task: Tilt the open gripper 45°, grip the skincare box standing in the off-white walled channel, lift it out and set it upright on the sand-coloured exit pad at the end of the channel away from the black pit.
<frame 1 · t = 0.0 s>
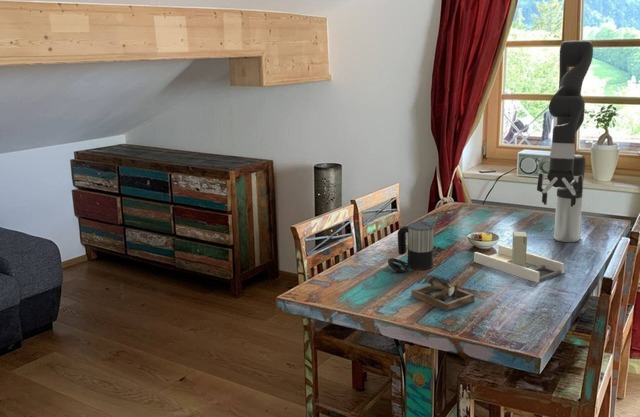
hand: (558, 205, 227), 22 cm above the table, tool pointing down, fingers open, 8 cm apart
display frame: (442, 298, 210), on the table
eagle figurine: (442, 299, 210), on the table
channel: (517, 267, 235), on the table
skincare box: (518, 268, 235), on the table
exit pad: (495, 260, 243), on the table
pit: (541, 275, 227), on the table
milk frother: (411, 268, 238), on the table
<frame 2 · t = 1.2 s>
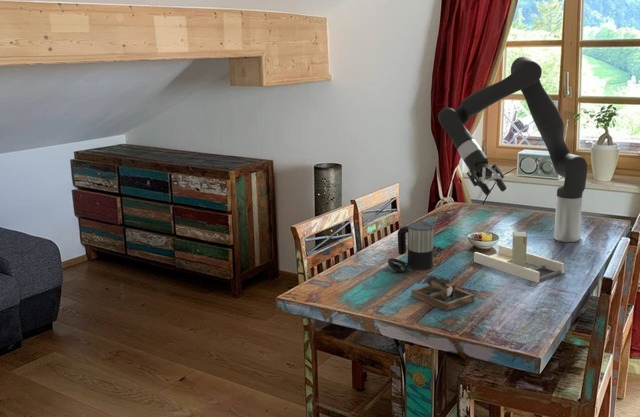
hand: (496, 192, 237), 25 cm above the table, tool tilted 45°, fingers open, 8 cm apart
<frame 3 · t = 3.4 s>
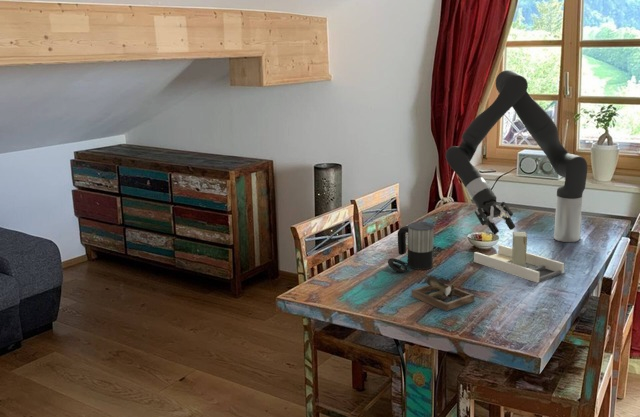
hand: (505, 230, 237), 12 cm above the table, tool tilted 45°, fingers open, 8 cm apart
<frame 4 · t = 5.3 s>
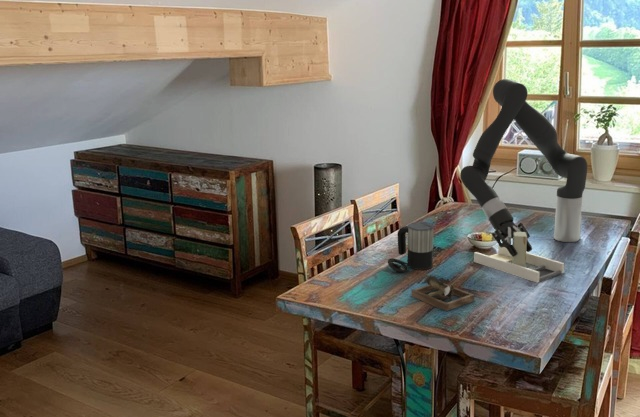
hand: (522, 252, 232), 6 cm above the table, tool tilted 45°, fingers closed on skincare box, 7 cm apart
skincare box: (518, 268, 235), on the table, touching gripper
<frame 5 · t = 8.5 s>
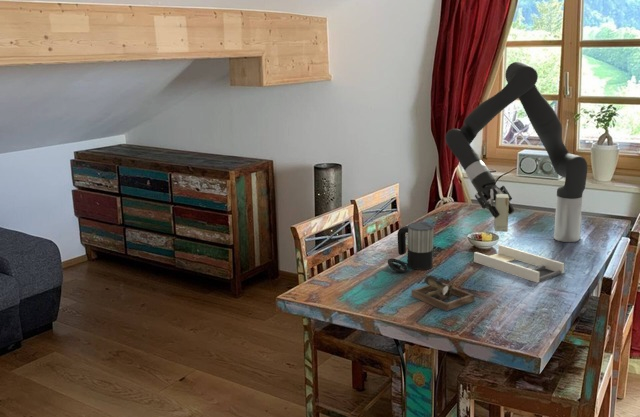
hand: (504, 214, 235), 18 cm above the table, tool tilted 45°, fingers closed on skincare box, 7 cm apart
eagle figurine: (436, 298, 211), on the table, touching display frame
skincare box: (500, 229, 238), point 12 cm above the table, touching gripper
everything else where it was.
when the fingers open (7 cm above the table, at t = 11.3 s): skincare box drops 1 cm, resting on exit pad.
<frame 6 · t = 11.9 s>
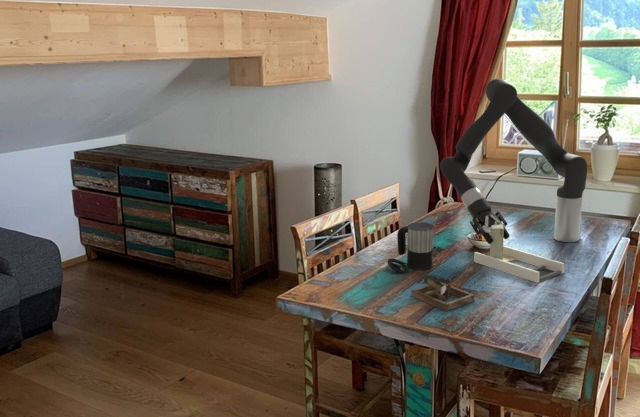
hand: (499, 240, 240), 8 cm above the table, tool tilted 45°, fingers open, 8 cm apart
eagle figurine: (435, 298, 211), on the table
skincare box: (496, 259, 243), resting on exit pad, touching gripper
everything else where it was.
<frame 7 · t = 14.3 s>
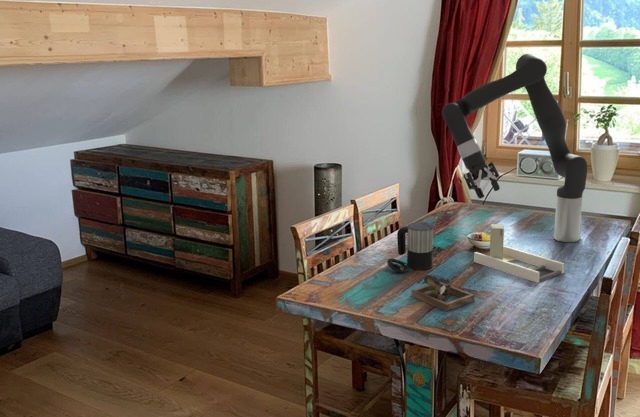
hand: (489, 194, 247), 22 cm above the table, tool tilted 30°, fingers open, 8 cm apart
skincare box: (496, 259, 243), resting on exit pad
everything else where it was.
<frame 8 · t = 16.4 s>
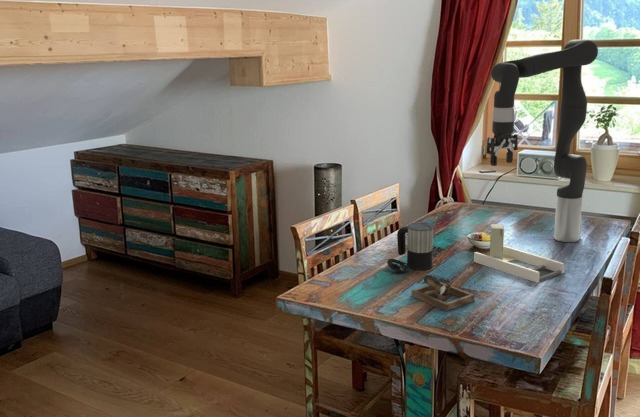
hand: (501, 164, 248), 32 cm above the table, tool pointing down, fingers open, 8 cm apart
nothing on the table moved.
at the end: skincare box inside the target area (0.4 cm from its centre), resting on exit pad; skincare box tilted 0°; the gripper is holding nothing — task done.
